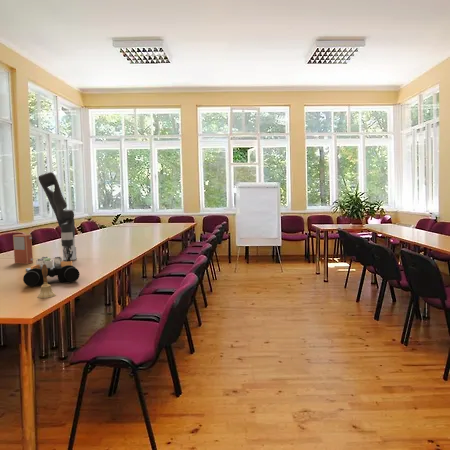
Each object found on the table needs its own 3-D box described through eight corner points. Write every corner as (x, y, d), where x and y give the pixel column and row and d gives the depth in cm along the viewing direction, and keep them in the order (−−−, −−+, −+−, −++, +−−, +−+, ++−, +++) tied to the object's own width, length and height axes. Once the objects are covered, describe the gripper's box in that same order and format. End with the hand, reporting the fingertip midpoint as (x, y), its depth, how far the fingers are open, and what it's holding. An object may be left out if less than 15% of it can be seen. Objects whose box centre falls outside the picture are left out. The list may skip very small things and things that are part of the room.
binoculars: (23, 288, 217) (22, 270, 216) (25, 284, 235) (24, 267, 235) (80, 282, 228) (79, 265, 228) (77, 278, 247) (76, 262, 247)
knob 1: (40, 268, 270) (39, 258, 270) (46, 268, 269) (46, 258, 269) (28, 271, 258) (27, 261, 258) (35, 271, 257) (34, 261, 257)
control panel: (19, 261, 311) (35, 262, 306) (12, 263, 304) (27, 264, 299) (17, 234, 309) (33, 234, 304) (10, 235, 303) (26, 235, 298)
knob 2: (52, 267, 272) (52, 257, 271) (56, 266, 277) (55, 256, 276) (70, 267, 272) (70, 257, 271) (73, 265, 277) (72, 256, 276)
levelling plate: (62, 265, 288) (61, 254, 287) (70, 268, 275) (69, 257, 274) (25, 270, 272) (24, 258, 272) (33, 274, 259) (32, 261, 259)
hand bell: (33, 297, 198) (31, 265, 197) (46, 293, 206) (44, 262, 204) (46, 298, 195) (44, 266, 194) (59, 294, 203) (57, 263, 202)
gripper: (76, 239, 273) (77, 264, 274) (69, 237, 283) (70, 262, 284) (65, 240, 268) (66, 265, 270) (58, 238, 278) (59, 263, 280)
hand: (68, 263), depth 277 cm, fingers closed
